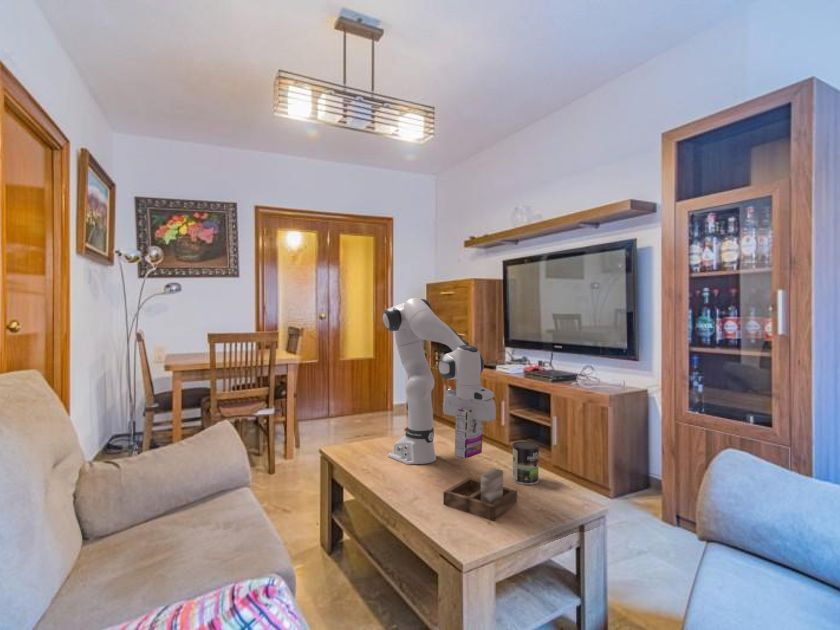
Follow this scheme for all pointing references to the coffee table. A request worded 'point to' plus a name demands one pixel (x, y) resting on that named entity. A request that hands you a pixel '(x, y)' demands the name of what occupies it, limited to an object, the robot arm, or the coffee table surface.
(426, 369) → the robot arm
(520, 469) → the coffee can
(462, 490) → the tray
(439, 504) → the coffee table surface
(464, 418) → the candy bar box
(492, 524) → the coffee table surface
